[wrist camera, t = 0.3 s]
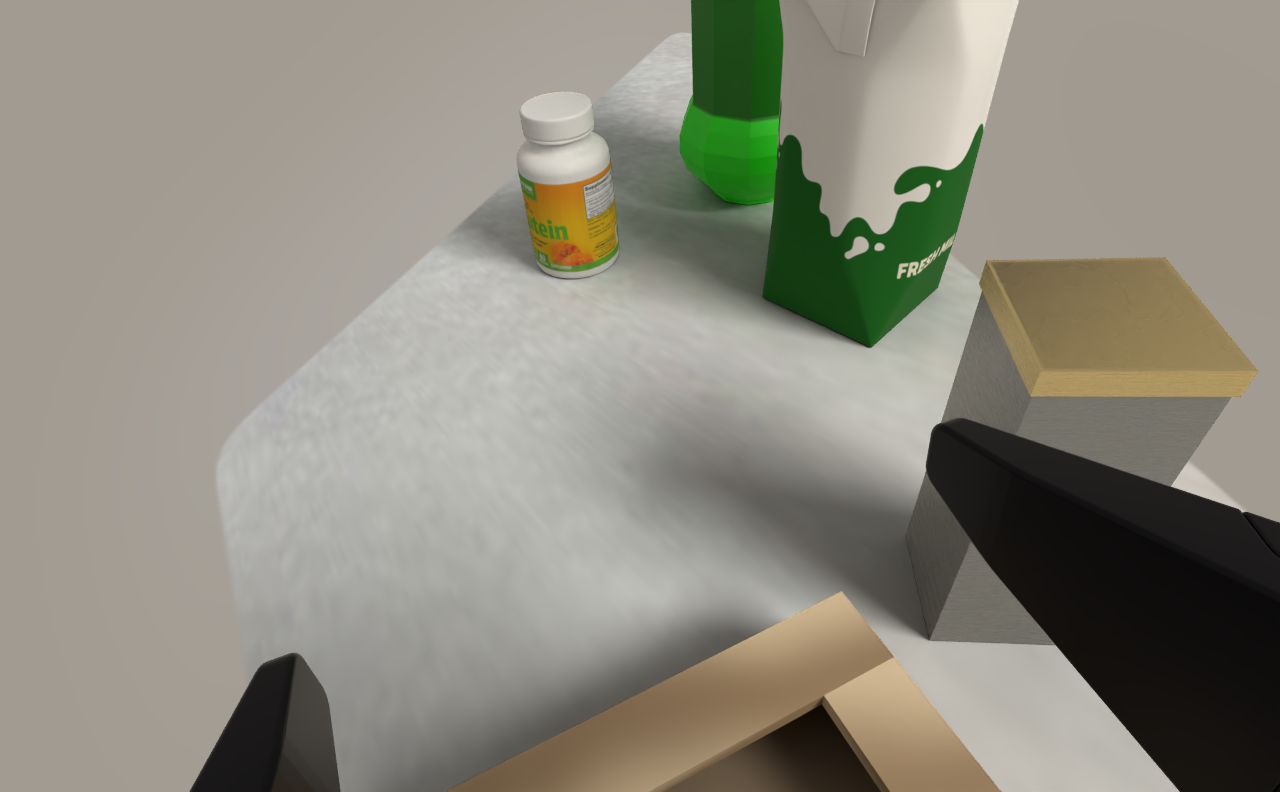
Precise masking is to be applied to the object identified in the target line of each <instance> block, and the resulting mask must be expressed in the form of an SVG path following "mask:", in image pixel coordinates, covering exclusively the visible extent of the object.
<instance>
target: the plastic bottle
mask: <svg viewBox="0 0 1280 792" xmlns="http://www.w3.org/2000/svg"><path fill="white" fill-rule="evenodd" d="M691 13H692V67H693V95H692V97H691V99H690V102H689V105H688V108H687V111H686V114H685V117H684V121H683V125H682V129H681V133H680V153H681V156H682V158H683V160H684V162H685V164H686V167H687V168H688V169H689V170H690V172H691V173H692V174H693V175H694V176H695V177H697V178H698V179H699V180H701V181H702V182H703V183H705V184H706V185H707V186H709V187H710V188H711V189H713V192H714V193H715V194H717V195H718V196H719V197H721V198H722V199H723V200H725V201H728V202H733V203H739V204H745V205H752V204H758V203H765V202H771V201H773V200H774V192H775V176H776V160H777V145H778V129H779V113H780V96H781V80H782V63H783V45H784V44H783V27H782V19H781V10H780V2H779V0H691Z"/></svg>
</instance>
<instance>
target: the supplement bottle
mask: <svg viewBox="0 0 1280 792" xmlns="http://www.w3.org/2000/svg"><path fill="white" fill-rule="evenodd" d="M520 117H521V123H522V129H523V132H524V136H525V138H526V139H527V141H526V142H525V143H524V144H523V145H522V146H521V148H520V150H519V152H518V155H517V166H518V172H519V177H520V182H521V187H522V192H523V197H524V202H525V207H526V212H527V217H528V222H529V228H530V233H531V238H532V243H533V249H534V254H535V258H536V261H537V264H538V265H539V267H540V268H541V269H542V270H543V271H544V272H546V273H548V274H550V275H552V276H555V277H560V278H569V279H575V278H584V277H589V276H593V275H596V274H598V273H600V272H602V271H604V270H606V269H607V268H609V267H610V266H611V265H612V264H613V263H614V262H615V260H616V259H617V257H618V254H619V237H618V228H617V219H616V209H615V199H614V190H613V180H612V169H611V159H610V153H609V148H608V145H607V143H606V142H605V140H604V139H603V138H602V137H601V136H600V135H598V134H596V133H595V132H593V131H592V130H593V128H594V116H593V108H592V103H591V100H590V99H589V98H588V97H587V96H585V95H583V94H580V93H576V92H552V93H546V94H542V95H539V96H536V97H533V98H531V99H529V100H527V101H526V102H525V103H524V104H523V105H522V106H521V108H520Z"/></svg>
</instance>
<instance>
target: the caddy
mask: <svg viewBox="0 0 1280 792" xmlns="http://www.w3.org/2000/svg"><path fill="white" fill-rule="evenodd" d="M447 792H1001V791H1000V790H999V789H998V787H997V786H996V785H995V784H994V782H993V781H992V780H991V779H990V777H989V776H988V775H987V773H986V772H985V771H984V770H983V768H982V767H981V766H980V765H979V763H978V762H977V761H976V760H975V758H974V757H973V756H972V755H971V753H970V752H969V751H968V750H967V748H966V747H965V746H964V745H963V743H962V742H961V741H960V739H959V738H958V737H957V736H956V734H955V733H954V732H953V731H952V729H951V728H950V727H949V726H948V724H947V723H946V722H945V721H944V719H943V718H942V717H941V716H940V714H939V713H938V712H937V710H936V709H935V708H934V707H933V705H932V704H931V703H930V702H929V700H928V699H927V698H926V697H925V695H924V694H923V693H922V692H921V690H920V689H919V688H918V687H917V685H916V684H915V683H914V682H913V680H912V679H911V678H910V676H909V675H908V674H907V673H906V671H905V670H904V669H903V668H902V666H901V665H900V664H899V663H898V661H897V660H896V659H895V658H894V656H893V655H892V654H891V653H890V651H889V650H888V649H887V647H886V646H885V645H884V644H883V642H882V641H881V640H880V639H879V637H878V636H877V635H876V634H875V632H874V631H873V630H872V629H871V627H870V626H869V625H868V624H867V622H866V621H865V620H864V619H863V617H862V616H861V615H860V613H859V612H858V611H857V610H856V608H855V607H854V606H853V605H852V603H851V602H850V601H849V600H848V598H847V597H846V596H845V595H844V593H843V592H842V591H841V592H839V593H837V594H835V595H833V596H831V597H829V598H827V599H825V600H823V601H821V602H819V603H817V604H815V605H813V606H811V607H809V608H807V609H805V610H803V611H801V612H799V613H797V614H795V615H793V616H791V617H789V618H787V619H785V620H784V621H782V622H780V623H778V624H776V625H774V626H772V627H770V628H768V629H766V630H764V631H762V632H760V633H758V634H756V635H754V636H752V637H750V638H748V639H746V640H744V641H742V642H740V643H738V644H736V645H734V646H732V647H730V648H728V649H726V650H724V651H722V652H720V653H718V654H716V655H714V656H712V657H710V658H708V659H706V660H704V661H702V662H700V663H698V664H696V665H694V666H692V667H691V668H689V669H687V670H685V671H683V672H681V673H679V674H677V675H675V676H673V677H671V678H669V679H667V680H665V681H663V682H661V683H659V684H657V685H655V686H653V687H651V688H649V689H647V690H645V691H643V692H641V693H639V694H637V695H635V696H633V697H631V698H629V699H627V700H625V701H623V702H621V703H619V704H617V705H615V706H613V707H611V708H609V709H607V710H605V711H603V712H601V713H599V714H597V715H596V716H594V717H592V718H590V719H588V720H586V721H584V722H582V723H580V724H578V725H576V726H574V727H572V728H570V729H568V730H566V731H564V732H562V733H560V734H558V735H556V736H554V737H552V738H550V739H548V740H546V741H544V742H542V743H540V744H538V745H536V746H534V747H532V748H530V749H528V750H526V751H524V752H522V753H520V754H518V755H516V756H514V757H512V758H510V759H508V760H506V761H504V762H503V763H501V764H499V765H497V766H495V767H493V768H491V769H489V770H487V771H485V772H483V773H481V774H479V775H477V776H475V777H473V778H471V779H469V780H467V781H465V782H463V783H461V784H459V785H457V786H455V787H453V788H451V789H449V790H447Z"/></svg>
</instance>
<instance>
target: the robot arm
mask: <svg viewBox="0 0 1280 792" xmlns="http://www.w3.org/2000/svg"><path fill="white" fill-rule="evenodd" d="M926 472H927V475H928V478H929V480H930V482H931V483H932V485H933V486H934V488H935V489H936V491H937V492H938V494H939V495H940V497H941V498H942V499H943V501H944V502H945V504H946V505H947V507H948V508H949V510H950V511H951V513H952V514H953V515H954V517H955V518H956V520H957V521H958V523H959V524H960V526H961V527H962V529H963V530H964V532H965V533H966V534H967V536H968V537H969V539H970V540H971V542H972V543H973V545H974V546H975V548H976V549H977V550H978V552H979V553H980V555H981V556H982V557H983V559H984V560H985V561H986V563H987V564H988V565H989V567H990V568H991V569H992V570H993V572H994V573H995V574H996V575H997V576H998V578H999V579H1000V580H1001V581H1002V582H1003V584H1004V585H1005V586H1006V587H1007V588H1008V590H1009V591H1010V592H1011V593H1012V594H1013V595H1014V597H1015V598H1016V599H1017V600H1018V601H1019V602H1020V604H1021V605H1022V606H1023V607H1024V608H1025V610H1026V611H1027V612H1028V613H1029V614H1030V615H1031V617H1032V618H1033V619H1034V620H1035V621H1036V623H1037V624H1038V625H1039V626H1040V627H1041V628H1042V630H1043V631H1044V632H1045V633H1046V634H1047V636H1048V637H1049V638H1050V639H1051V640H1052V641H1053V643H1054V644H1055V645H1056V646H1057V647H1058V649H1059V650H1060V651H1061V652H1062V653H1063V654H1064V656H1065V657H1066V658H1067V659H1068V660H1069V662H1070V663H1071V664H1072V665H1073V666H1074V667H1075V669H1076V670H1077V671H1078V672H1079V673H1080V674H1081V676H1082V677H1083V678H1084V679H1085V680H1086V682H1087V683H1088V684H1089V685H1090V686H1091V687H1092V689H1093V690H1094V691H1095V692H1096V693H1097V695H1098V696H1099V697H1100V698H1101V699H1102V700H1103V702H1104V703H1105V704H1106V705H1107V706H1108V708H1109V709H1110V710H1111V711H1112V712H1113V713H1114V715H1115V716H1116V717H1117V718H1118V719H1119V721H1120V722H1121V723H1122V724H1123V725H1124V726H1125V728H1126V729H1127V730H1128V731H1129V732H1130V733H1131V735H1132V736H1133V737H1134V738H1135V739H1136V741H1137V742H1138V743H1139V744H1140V745H1141V746H1142V748H1143V749H1144V750H1145V751H1146V752H1147V754H1148V755H1149V756H1150V757H1151V758H1152V759H1153V761H1154V762H1155V763H1156V764H1157V765H1158V767H1159V768H1160V769H1161V770H1162V771H1163V772H1164V774H1165V775H1166V776H1167V777H1168V778H1169V780H1170V781H1171V782H1172V783H1173V784H1174V785H1175V787H1176V788H1177V789H1178V790H1179V791H1180V792H1280V523H1279V522H1276V521H1273V520H1270V519H1267V518H1264V517H1261V516H1258V515H1255V514H1252V513H1249V512H1243V513H1242V512H1241V511H1240V510H1239V509H1237V508H1234V507H1231V506H1228V505H1225V504H1222V503H1219V502H1216V501H1212V500H1209V499H1206V498H1203V497H1200V496H1197V495H1194V494H1191V493H1188V492H1185V491H1182V490H1179V489H1176V488H1173V487H1170V486H1167V485H1164V484H1161V483H1158V482H1155V481H1152V480H1149V479H1146V478H1143V477H1140V476H1137V475H1134V474H1131V473H1128V472H1125V471H1122V470H1119V469H1116V468H1113V467H1110V466H1107V465H1104V464H1101V463H1098V462H1095V461H1092V460H1089V459H1086V458H1083V457H1080V456H1077V455H1074V454H1071V453H1068V452H1065V451H1062V450H1059V449H1056V448H1053V447H1050V446H1047V445H1044V444H1041V443H1038V442H1035V441H1032V440H1029V439H1026V438H1023V437H1020V436H1017V435H1014V434H1011V433H1008V432H1005V431H1002V430H999V429H996V428H993V427H990V426H987V425H984V424H981V423H978V422H975V421H972V420H969V419H966V418H954V419H951V420H948V421H945V422H943V423H940V424H937V425H936V426H935V427H934V428H933V430H932V432H931V437H930V443H929V449H928V455H927V461H926ZM190 792H340V785H339V777H338V770H337V762H336V754H335V747H334V739H333V731H332V724H331V716H330V708H329V703H328V699H327V696H326V693H325V691H324V688H323V687H322V685H321V684H320V682H319V681H318V679H317V678H316V676H315V675H314V673H313V672H312V671H311V669H310V668H309V666H308V665H307V663H306V662H305V660H304V659H303V658H302V656H301V655H299V654H298V653H290V654H287V655H284V656H282V657H279V658H276V659H273V660H270V661H268V662H265V663H264V664H262V665H261V666H260V667H259V668H258V670H257V671H256V673H255V675H254V676H253V678H252V680H251V682H250V684H249V685H248V687H247V689H246V691H245V693H244V694H243V696H242V698H241V700H240V702H239V703H238V705H237V707H236V709H235V711H234V713H233V714H232V716H231V718H230V720H229V721H228V723H227V725H226V727H225V729H224V730H223V732H222V734H221V736H220V738H219V740H218V741H217V743H216V745H215V747H214V749H213V750H212V752H211V754H210V756H209V758H208V759H207V761H206V763H205V765H204V767H203V769H202V770H201V772H200V774H199V776H198V777H197V779H196V781H195V783H194V785H193V786H192V788H191V790H190Z"/></svg>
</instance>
